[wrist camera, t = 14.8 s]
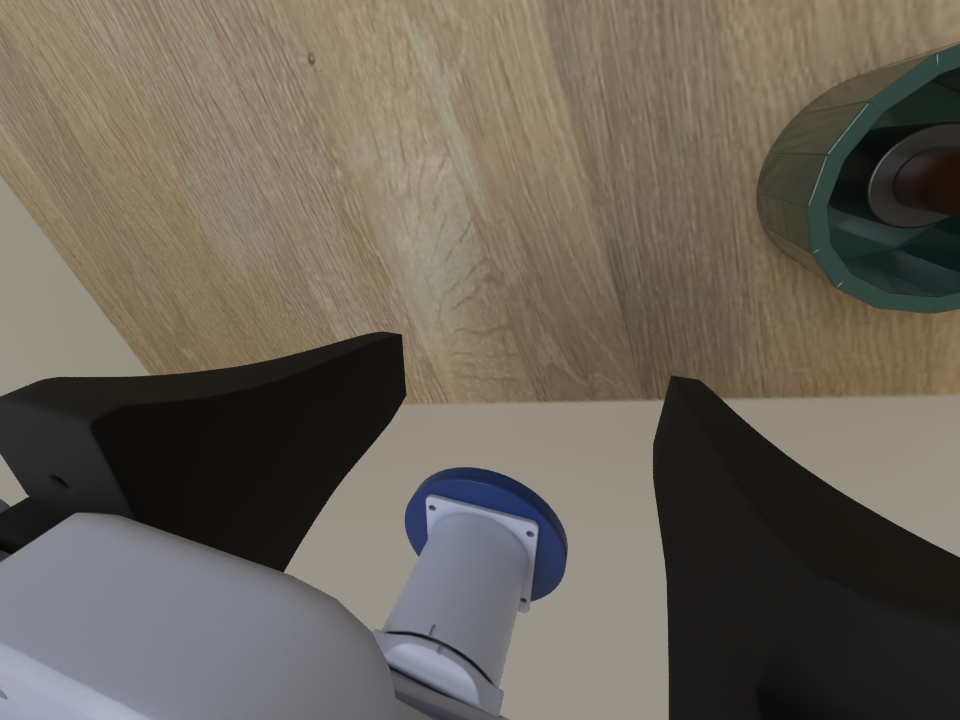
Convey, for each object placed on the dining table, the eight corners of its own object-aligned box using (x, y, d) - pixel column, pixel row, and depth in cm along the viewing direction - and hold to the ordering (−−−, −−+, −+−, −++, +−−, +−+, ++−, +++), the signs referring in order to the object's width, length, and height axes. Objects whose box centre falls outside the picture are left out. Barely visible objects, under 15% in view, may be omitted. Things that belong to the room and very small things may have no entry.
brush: (902, 216, 15) (1087, 263, 9) (810, 212, 15) (925, 252, 10) (944, 126, 13) (1194, 109, 8) (842, 126, 14) (996, 109, 8)
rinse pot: (928, 274, 16) (1056, 327, 11) (734, 258, 17) (773, 298, 13) (1040, 61, 13) (1281, 10, 8) (791, 67, 14) (870, 29, 10)
